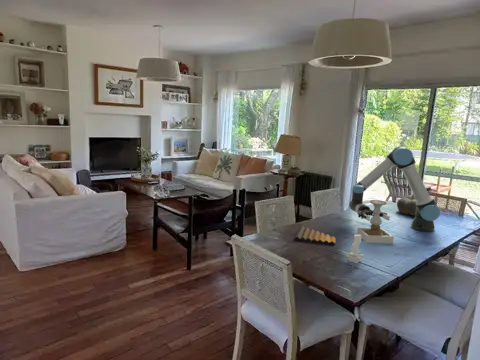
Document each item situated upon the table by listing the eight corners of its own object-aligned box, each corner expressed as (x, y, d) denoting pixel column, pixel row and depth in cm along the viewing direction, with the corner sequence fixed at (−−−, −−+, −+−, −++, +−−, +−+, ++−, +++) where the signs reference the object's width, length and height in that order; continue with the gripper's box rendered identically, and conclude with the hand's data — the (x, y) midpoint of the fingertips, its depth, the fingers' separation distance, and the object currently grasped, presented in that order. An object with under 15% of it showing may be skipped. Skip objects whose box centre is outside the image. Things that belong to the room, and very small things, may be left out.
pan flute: (299, 229, 245) (294, 241, 222) (300, 225, 245) (294, 236, 221) (336, 234, 238) (334, 246, 214) (337, 229, 237) (335, 241, 214)
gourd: (431, 210, 301) (431, 190, 296) (428, 221, 281) (428, 201, 276) (399, 208, 314) (399, 189, 310) (394, 218, 294) (394, 199, 290)
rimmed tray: (381, 234, 239) (382, 228, 238) (392, 243, 222) (393, 236, 221) (356, 234, 238) (357, 227, 237) (366, 242, 221) (367, 236, 221)
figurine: (344, 262, 190) (347, 235, 188) (351, 257, 197) (353, 231, 195) (358, 265, 186) (360, 238, 183) (364, 260, 193) (366, 234, 190)
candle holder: (384, 240, 224) (388, 204, 220) (366, 238, 226) (370, 202, 222) (381, 235, 234) (385, 200, 230) (364, 233, 236) (367, 199, 232)
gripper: (379, 215, 248) (396, 224, 227) (345, 215, 244) (360, 224, 223) (380, 204, 246) (397, 212, 226) (346, 204, 243) (361, 213, 222)
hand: (379, 218), depth 224 cm, fingers open, 13 cm apart
